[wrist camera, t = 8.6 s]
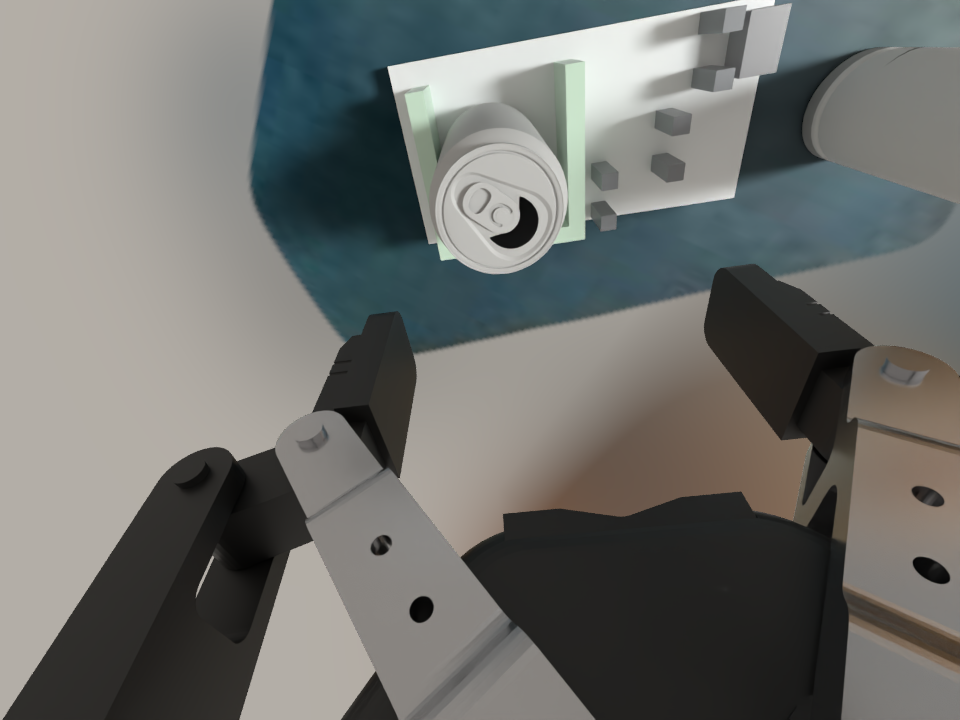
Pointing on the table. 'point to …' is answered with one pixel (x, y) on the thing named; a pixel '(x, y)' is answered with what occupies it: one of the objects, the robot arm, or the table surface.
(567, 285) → the table surface
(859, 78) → the travel mug
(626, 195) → the board
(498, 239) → the beverage can
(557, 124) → the end holder
